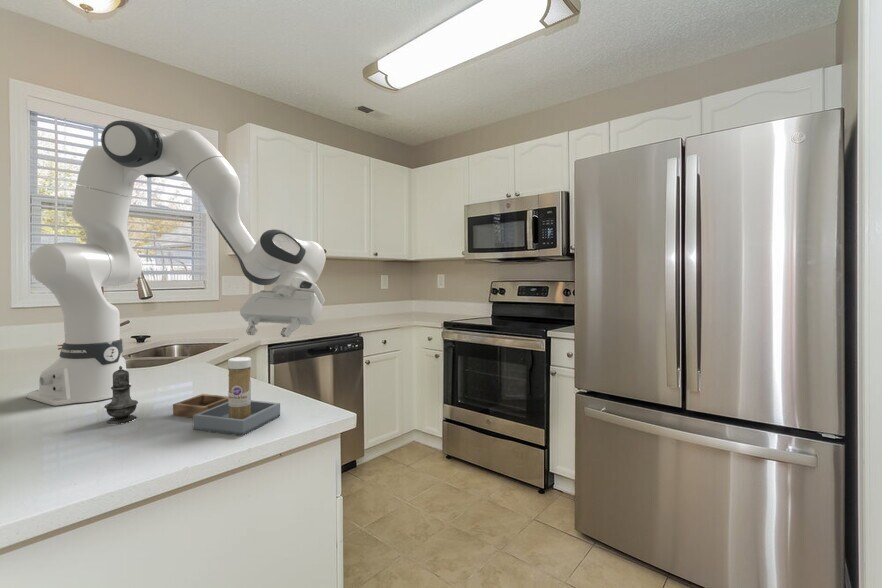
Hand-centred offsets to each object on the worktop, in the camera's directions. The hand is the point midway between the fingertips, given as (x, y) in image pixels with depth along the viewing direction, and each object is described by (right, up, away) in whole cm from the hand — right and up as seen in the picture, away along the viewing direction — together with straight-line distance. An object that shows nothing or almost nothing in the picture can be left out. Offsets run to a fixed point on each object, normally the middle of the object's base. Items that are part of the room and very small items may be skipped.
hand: (266, 334), depth 100 cm
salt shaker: (-28, -18, -8) cm, 34 cm away
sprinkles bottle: (-3, -18, -8) cm, 20 cm away
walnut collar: (-14, -18, -1) cm, 23 cm away
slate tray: (-3, -18, -8) cm, 20 cm away
